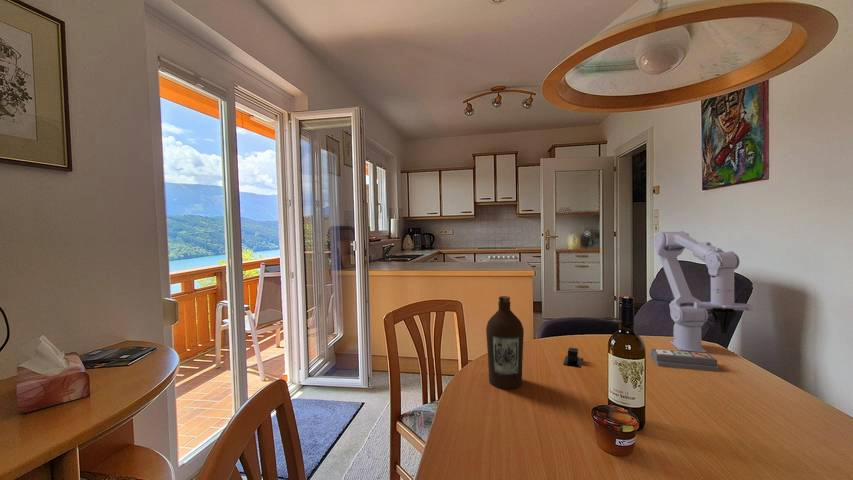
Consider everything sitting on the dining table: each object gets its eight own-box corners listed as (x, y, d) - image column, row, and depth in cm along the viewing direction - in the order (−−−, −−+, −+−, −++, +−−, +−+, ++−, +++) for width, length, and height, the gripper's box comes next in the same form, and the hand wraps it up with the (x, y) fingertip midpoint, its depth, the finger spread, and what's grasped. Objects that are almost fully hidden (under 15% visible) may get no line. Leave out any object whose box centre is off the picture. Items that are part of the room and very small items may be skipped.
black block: (583, 372, 107) (583, 357, 107) (558, 368, 111) (558, 353, 111) (586, 358, 118) (586, 345, 118) (563, 355, 122) (563, 342, 122)
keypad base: (650, 356, 117) (650, 347, 117) (706, 361, 112) (706, 352, 112) (657, 365, 110) (658, 355, 110) (718, 371, 105) (718, 361, 104)
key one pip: (655, 355, 115) (655, 349, 115) (669, 356, 114) (669, 350, 114) (659, 359, 111) (659, 353, 111) (674, 360, 110) (674, 354, 110)
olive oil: (486, 373, 106) (485, 293, 105) (521, 375, 105) (521, 293, 104) (487, 389, 96) (486, 300, 95) (526, 391, 94) (525, 301, 93)
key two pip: (673, 356, 113) (673, 350, 113) (687, 358, 112) (687, 351, 112) (677, 361, 110) (677, 354, 110) (692, 362, 108) (692, 356, 108)
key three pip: (691, 358, 112) (691, 351, 112) (705, 359, 111) (705, 353, 110) (696, 362, 108) (696, 356, 108) (711, 364, 107) (711, 357, 107)
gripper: (700, 290, 108) (700, 334, 108) (758, 292, 103) (758, 337, 103) (691, 287, 114) (691, 328, 115) (745, 288, 110) (745, 331, 110)
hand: (722, 332), depth 109 cm, fingers closed
